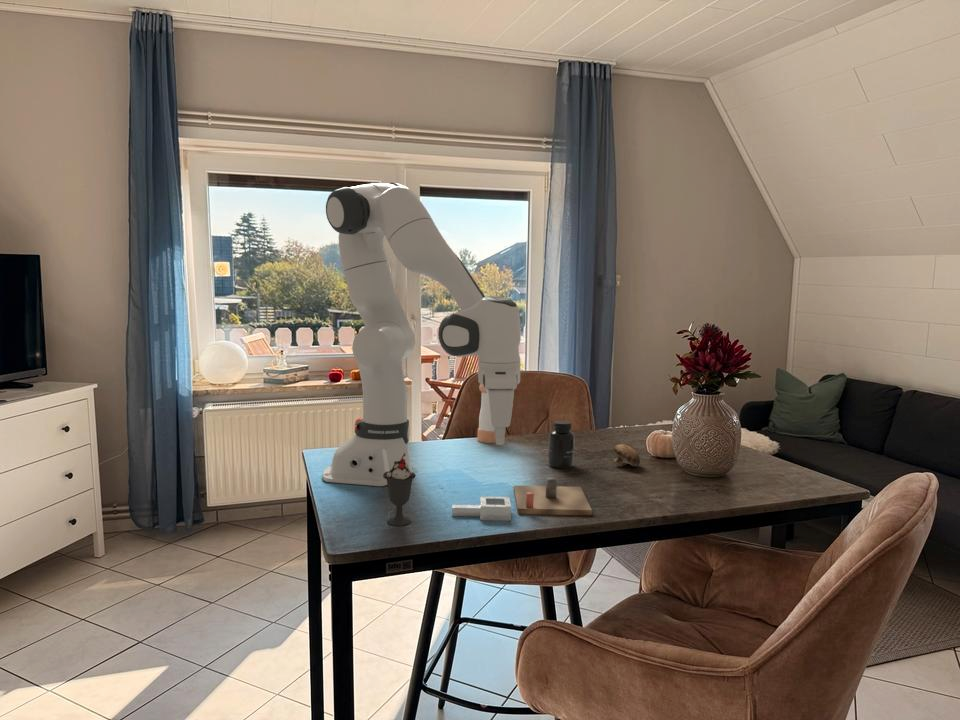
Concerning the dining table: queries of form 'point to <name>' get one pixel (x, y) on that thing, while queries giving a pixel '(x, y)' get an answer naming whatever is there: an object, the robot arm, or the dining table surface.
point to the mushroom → (626, 456)
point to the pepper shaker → (485, 420)
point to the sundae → (399, 489)
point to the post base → (552, 499)
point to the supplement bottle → (561, 445)
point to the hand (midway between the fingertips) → (499, 438)
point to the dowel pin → (529, 499)
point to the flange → (486, 509)
